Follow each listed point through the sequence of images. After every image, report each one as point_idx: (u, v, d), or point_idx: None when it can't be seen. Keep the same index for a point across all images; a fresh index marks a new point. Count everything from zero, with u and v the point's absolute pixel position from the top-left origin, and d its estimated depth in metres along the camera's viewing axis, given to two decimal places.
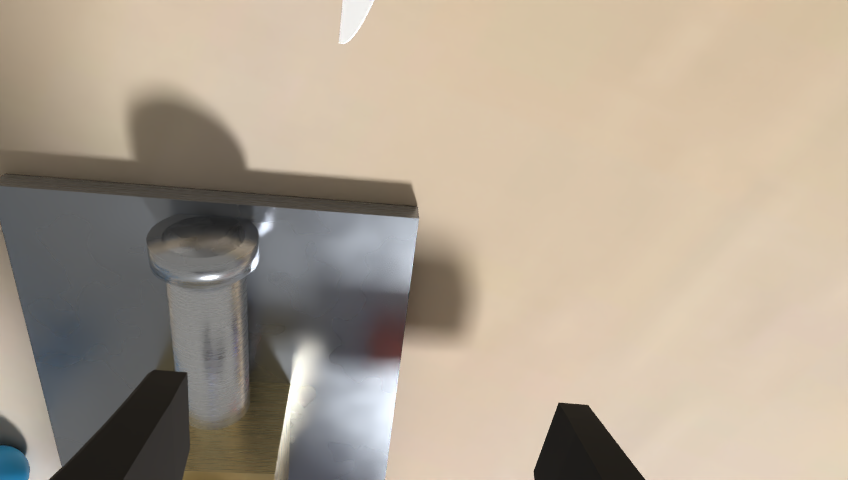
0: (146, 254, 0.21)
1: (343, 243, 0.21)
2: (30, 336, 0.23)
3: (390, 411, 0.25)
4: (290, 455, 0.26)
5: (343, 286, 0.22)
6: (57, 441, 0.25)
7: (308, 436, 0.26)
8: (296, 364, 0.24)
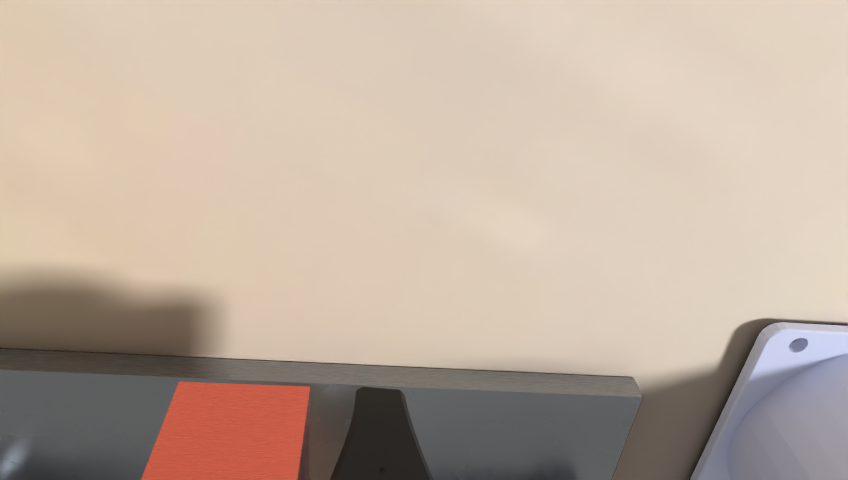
0: None
1: None
2: None
3: (237, 383, 0.17)
4: None
5: (25, 431, 0.18)
6: None
7: None
8: None
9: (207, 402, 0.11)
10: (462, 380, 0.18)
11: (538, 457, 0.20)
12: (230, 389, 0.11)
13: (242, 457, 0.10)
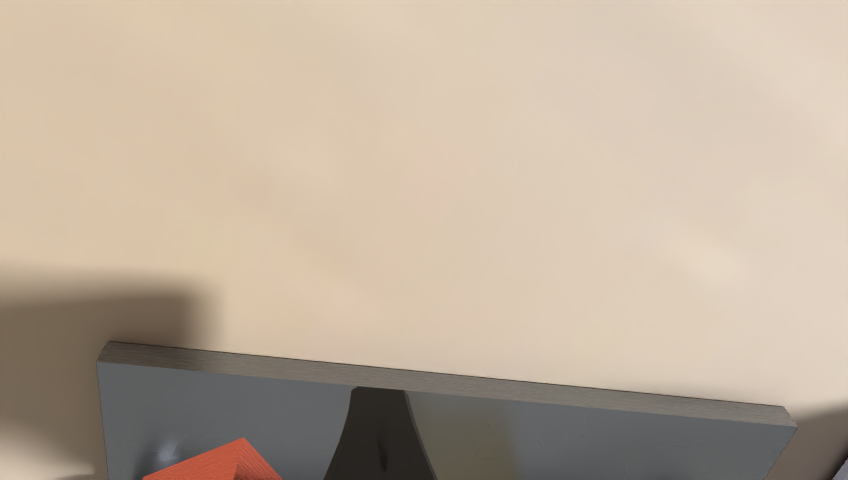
0: None
1: (146, 429, 0.18)
2: None
3: (426, 396, 0.18)
4: None
5: (209, 432, 0.18)
6: None
7: (459, 475, 0.20)
8: None
9: None
10: (632, 402, 0.19)
11: (687, 478, 0.20)
12: (180, 467, 0.12)
13: None
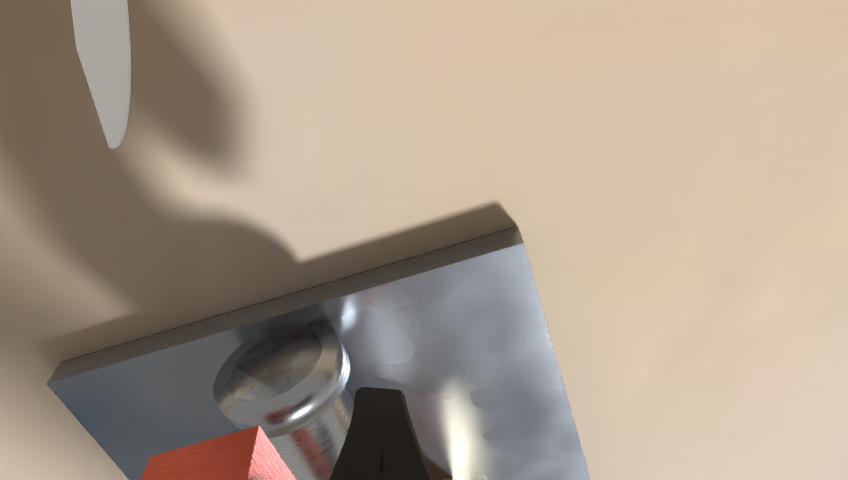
0: None
1: (443, 305, 0.16)
2: None
3: (582, 470, 0.20)
4: None
5: (465, 353, 0.17)
6: None
7: None
8: (450, 455, 0.19)
9: (171, 468, 0.11)
10: None
11: None
12: (190, 450, 0.12)
13: None
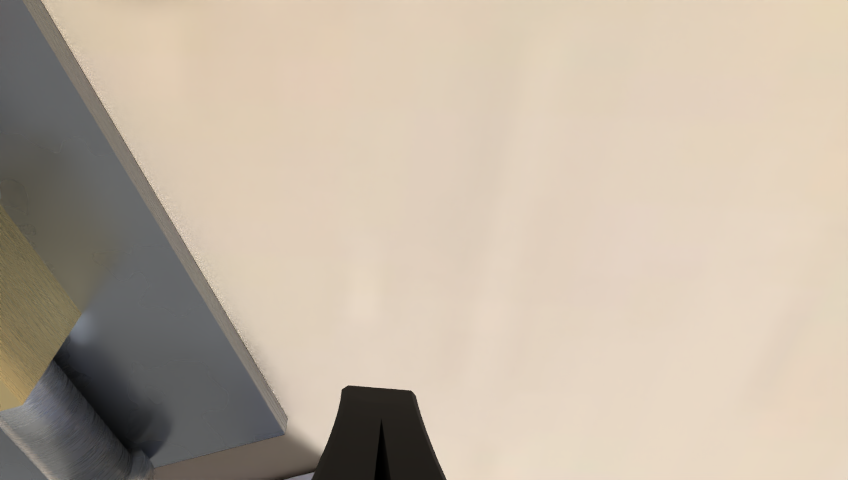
0: None
1: None
2: None
3: (127, 182, 0.19)
4: (64, 288, 0.21)
5: None
6: None
7: (63, 254, 0.20)
8: None
9: None
10: (227, 328, 0.22)
11: (191, 406, 0.24)
12: None
13: None
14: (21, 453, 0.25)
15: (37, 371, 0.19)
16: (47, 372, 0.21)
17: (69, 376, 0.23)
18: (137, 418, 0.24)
